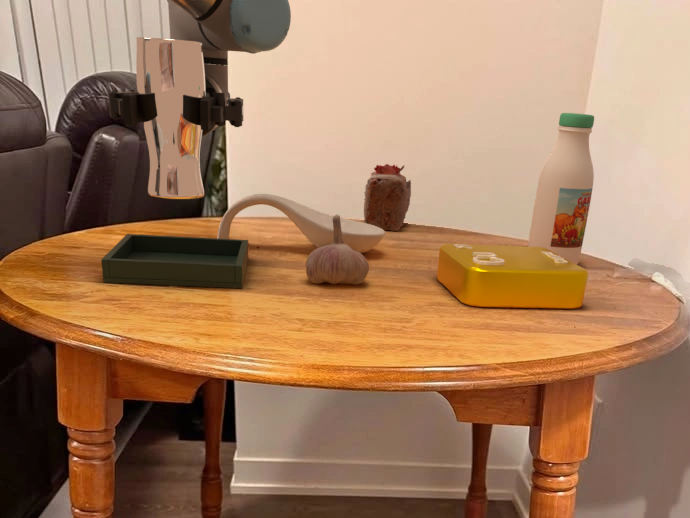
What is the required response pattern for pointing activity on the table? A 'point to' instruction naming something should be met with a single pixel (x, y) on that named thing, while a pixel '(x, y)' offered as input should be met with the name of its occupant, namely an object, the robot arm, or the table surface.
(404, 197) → the food item
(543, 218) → the milk bottle
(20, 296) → the table surface
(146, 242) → the serving tray
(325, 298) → the table surface
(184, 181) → the beer glass
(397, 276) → the table surface
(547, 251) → the element tile
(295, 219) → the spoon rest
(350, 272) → the garlic bulb
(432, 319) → the table surface
